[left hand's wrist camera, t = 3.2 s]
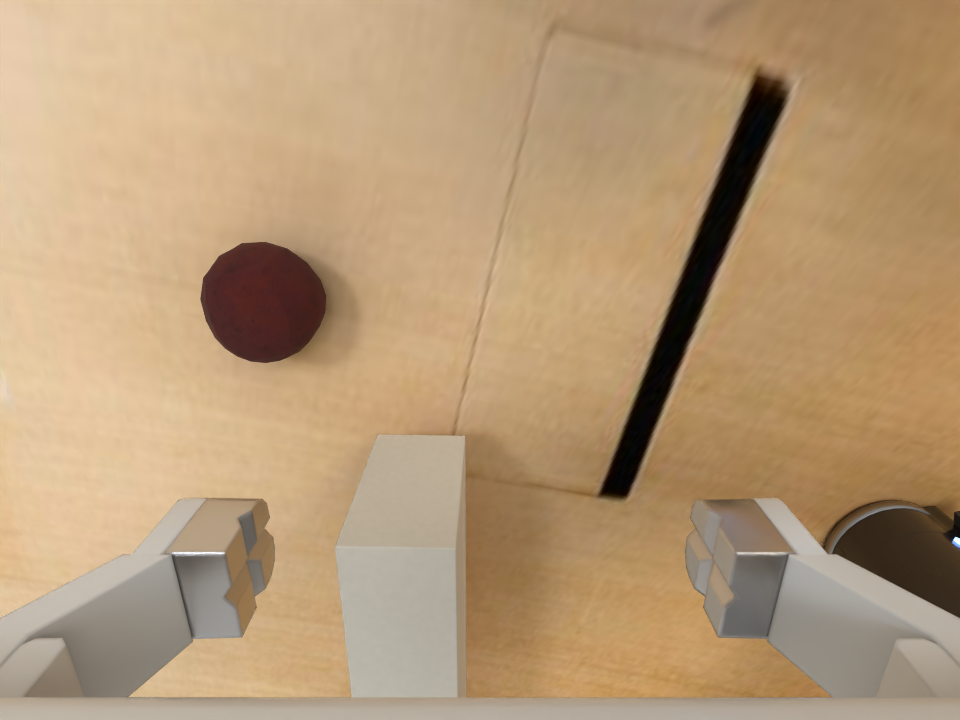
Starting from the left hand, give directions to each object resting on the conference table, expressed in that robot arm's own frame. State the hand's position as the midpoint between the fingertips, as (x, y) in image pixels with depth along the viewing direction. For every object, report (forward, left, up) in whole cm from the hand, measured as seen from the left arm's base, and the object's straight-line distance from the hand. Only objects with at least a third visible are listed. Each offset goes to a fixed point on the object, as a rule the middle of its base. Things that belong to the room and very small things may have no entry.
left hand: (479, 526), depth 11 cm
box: (+11, +24, -26) cm, 37 cm away
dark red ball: (+14, -1, -30) cm, 33 cm away
